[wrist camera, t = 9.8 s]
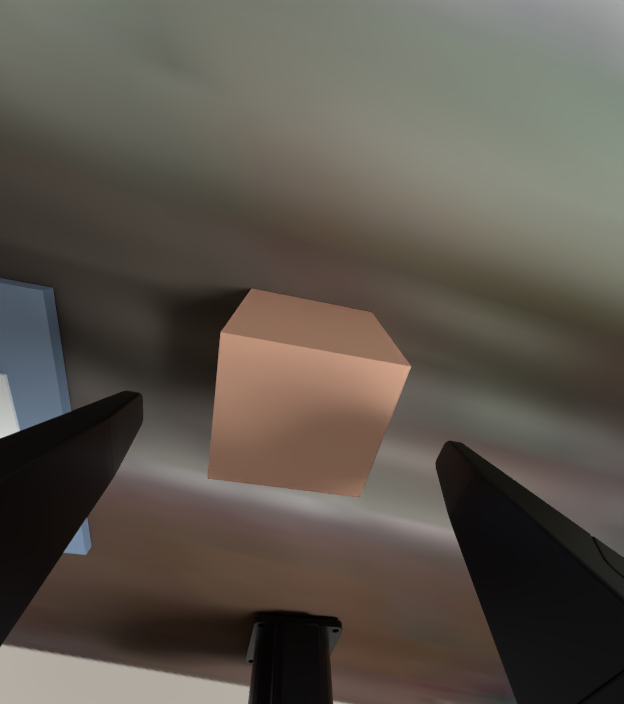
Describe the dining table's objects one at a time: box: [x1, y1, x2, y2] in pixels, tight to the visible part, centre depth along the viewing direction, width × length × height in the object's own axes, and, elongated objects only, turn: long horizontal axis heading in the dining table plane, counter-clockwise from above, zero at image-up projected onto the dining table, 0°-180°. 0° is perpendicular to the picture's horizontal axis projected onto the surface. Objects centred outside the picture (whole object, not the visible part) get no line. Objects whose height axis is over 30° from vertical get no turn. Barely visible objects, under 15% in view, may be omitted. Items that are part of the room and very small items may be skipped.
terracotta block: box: [208, 288, 411, 497], centre depth 11 cm, size 5×5×5 cm
